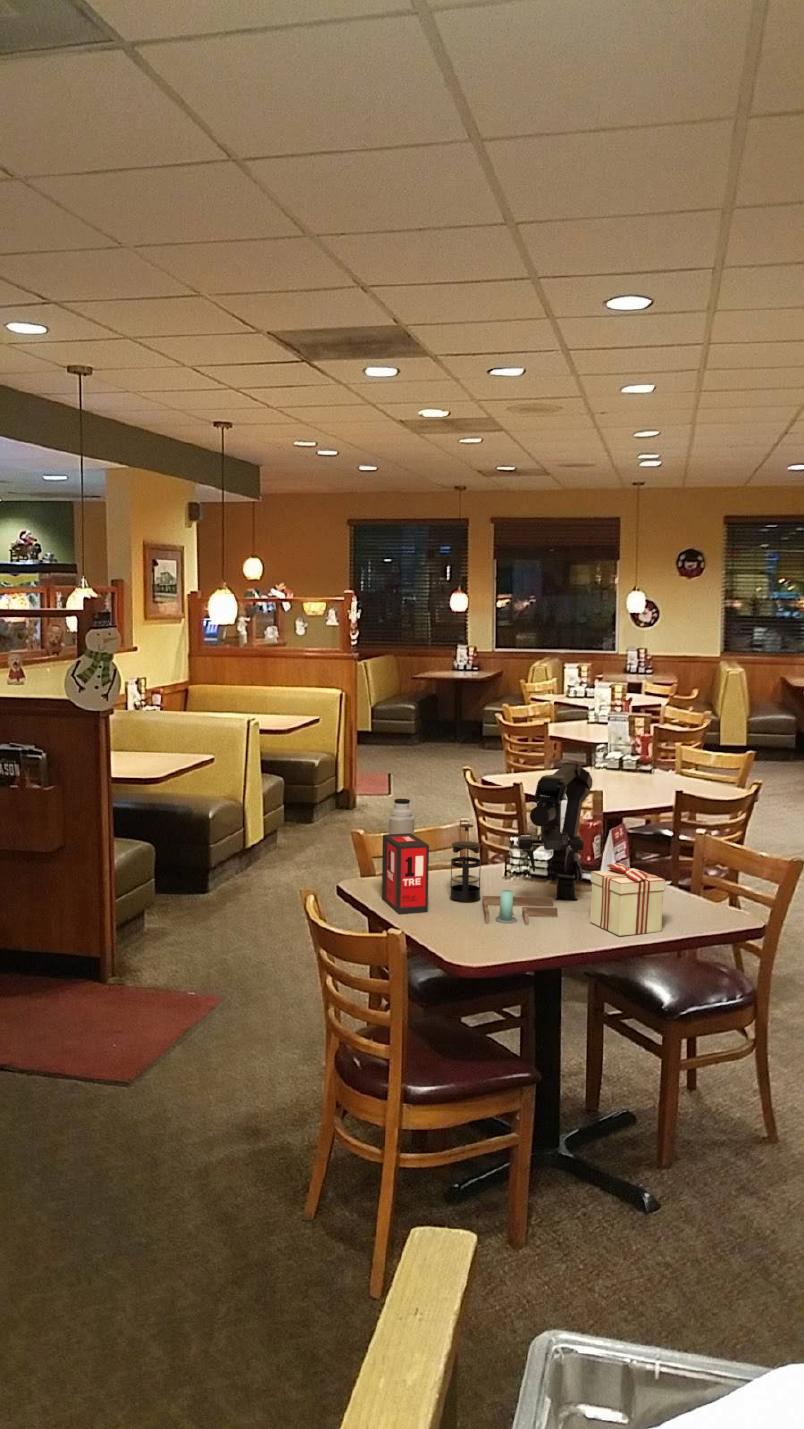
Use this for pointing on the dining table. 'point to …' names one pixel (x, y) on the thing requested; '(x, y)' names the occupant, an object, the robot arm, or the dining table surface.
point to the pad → (506, 921)
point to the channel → (526, 911)
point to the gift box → (626, 900)
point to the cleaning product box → (405, 873)
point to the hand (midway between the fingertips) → (549, 871)
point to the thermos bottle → (401, 818)
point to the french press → (465, 872)
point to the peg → (506, 905)
